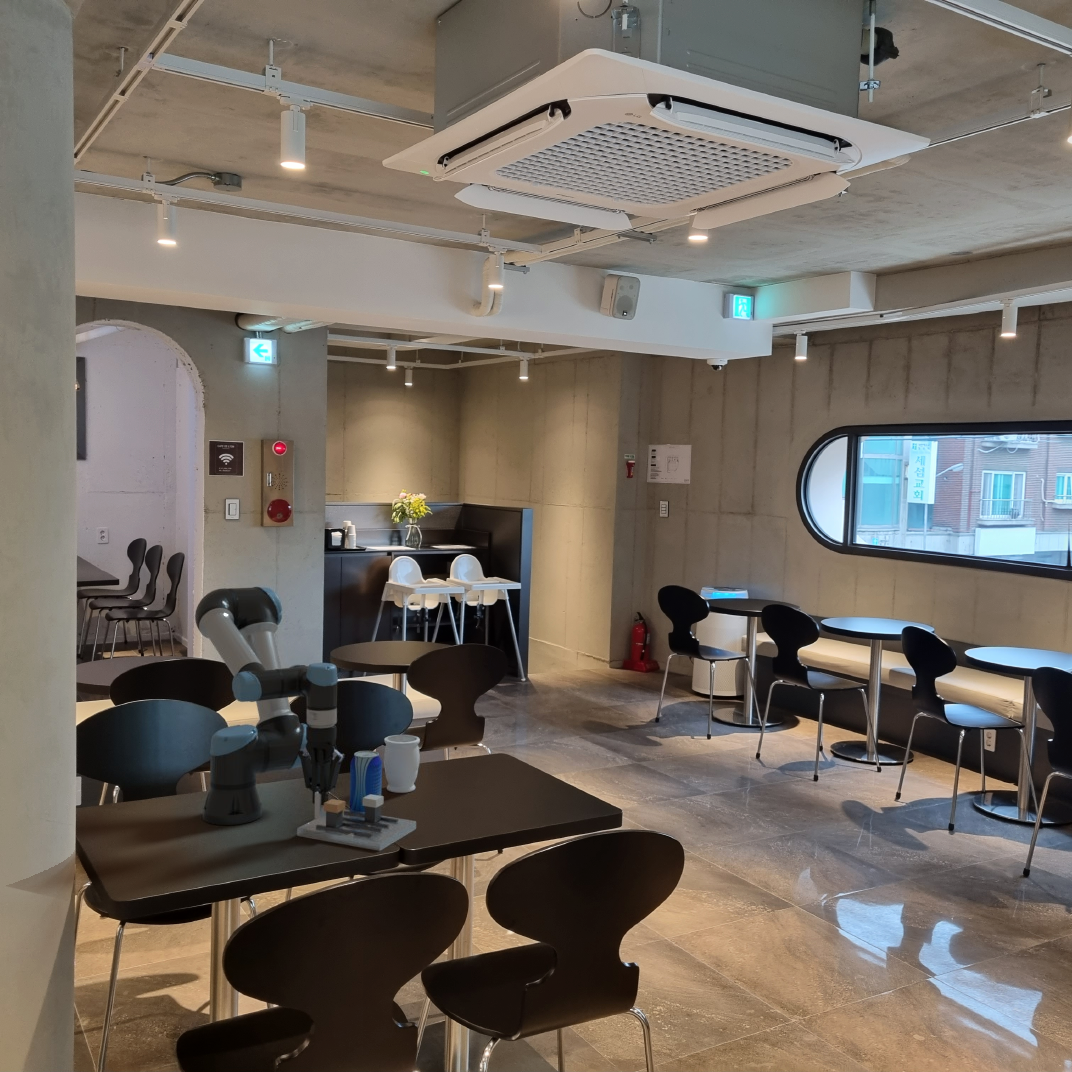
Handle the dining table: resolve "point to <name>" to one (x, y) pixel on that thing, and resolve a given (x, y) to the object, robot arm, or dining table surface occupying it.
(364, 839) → the console
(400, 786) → the jar
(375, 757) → the beer can
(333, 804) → the fader
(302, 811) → the dining table surface
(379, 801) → the fader
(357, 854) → the dining table surface
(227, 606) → the robot arm
